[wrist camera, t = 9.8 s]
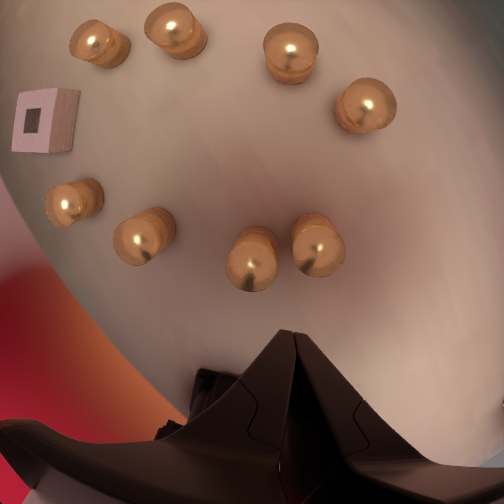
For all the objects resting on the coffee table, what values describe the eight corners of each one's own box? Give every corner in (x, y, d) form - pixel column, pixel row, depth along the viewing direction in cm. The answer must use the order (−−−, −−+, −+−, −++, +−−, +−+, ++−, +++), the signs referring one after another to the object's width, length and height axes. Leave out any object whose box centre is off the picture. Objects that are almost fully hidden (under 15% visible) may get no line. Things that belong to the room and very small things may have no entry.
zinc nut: (71, 150, 20) (48, 152, 17) (34, 148, 20) (11, 151, 18) (80, 91, 19) (57, 87, 16) (41, 95, 19) (19, 92, 16)
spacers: (321, 291, 22) (328, 319, 18) (69, 220, 22) (40, 233, 18) (386, 69, 16) (407, 53, 12) (108, 25, 17) (81, 10, 13)
